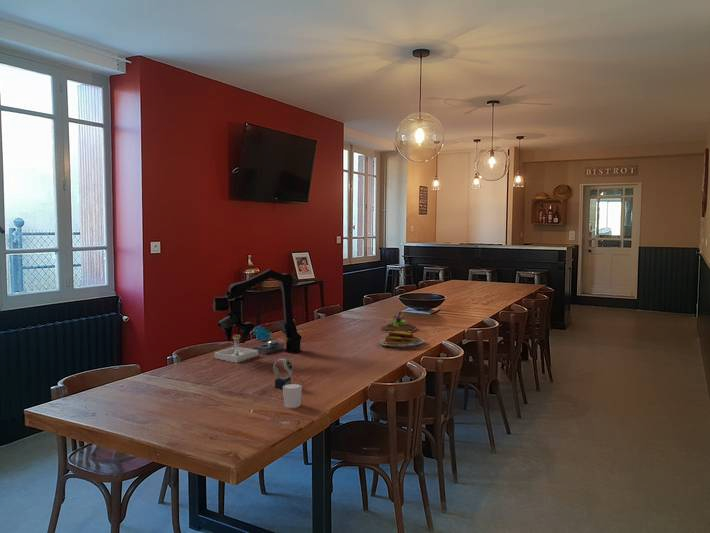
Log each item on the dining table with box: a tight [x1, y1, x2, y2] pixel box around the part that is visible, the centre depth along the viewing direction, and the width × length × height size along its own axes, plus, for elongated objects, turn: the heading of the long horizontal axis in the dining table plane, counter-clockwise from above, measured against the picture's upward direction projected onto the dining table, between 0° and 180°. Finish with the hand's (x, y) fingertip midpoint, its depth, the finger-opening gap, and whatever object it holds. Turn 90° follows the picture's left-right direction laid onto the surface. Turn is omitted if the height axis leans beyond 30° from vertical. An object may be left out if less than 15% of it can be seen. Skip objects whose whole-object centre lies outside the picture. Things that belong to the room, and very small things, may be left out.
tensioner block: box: [252, 339, 285, 355], centre depth 274 cm, size 8×14×4 cm, turn 149°
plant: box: [381, 311, 417, 332], centre depth 328 cm, size 20×20×11 cm
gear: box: [253, 325, 272, 342], centre depth 300 cm, size 11×6×10 cm
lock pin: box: [232, 334, 241, 356], centre depth 260 cm, size 4×4×10 cm
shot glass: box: [282, 383, 303, 409], centre depth 192 cm, size 7×7×7 cm
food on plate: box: [377, 331, 426, 349], centre depth 288 cm, size 25×25×7 cm
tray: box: [213, 346, 259, 364], centre depth 260 cm, size 15×15×3 cm
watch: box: [272, 358, 294, 390], centre depth 215 cm, size 6×8×11 cm
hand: (236, 342), depth 260 cm, fingers open, 9 cm apart
